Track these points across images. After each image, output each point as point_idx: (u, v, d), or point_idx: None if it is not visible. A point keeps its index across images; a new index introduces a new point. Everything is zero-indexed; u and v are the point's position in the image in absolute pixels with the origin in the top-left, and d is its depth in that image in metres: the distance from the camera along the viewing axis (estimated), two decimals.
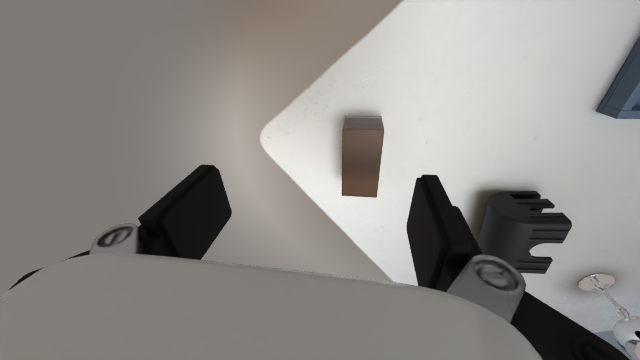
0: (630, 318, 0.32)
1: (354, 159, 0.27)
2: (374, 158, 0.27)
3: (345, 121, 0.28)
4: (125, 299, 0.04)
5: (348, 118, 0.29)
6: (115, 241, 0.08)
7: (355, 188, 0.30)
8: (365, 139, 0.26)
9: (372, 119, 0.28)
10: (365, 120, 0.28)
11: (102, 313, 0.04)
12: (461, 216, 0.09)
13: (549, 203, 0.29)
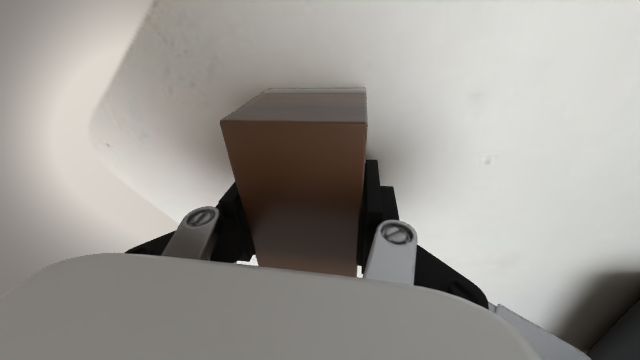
0: None
1: (280, 216, 0.09)
2: (338, 218, 0.08)
3: (254, 100, 0.09)
4: (125, 299, 0.04)
5: (271, 93, 0.10)
6: (201, 222, 0.08)
7: None
8: (303, 157, 0.07)
9: (337, 94, 0.09)
10: (315, 97, 0.09)
11: (102, 313, 0.04)
12: (394, 194, 0.10)
13: None
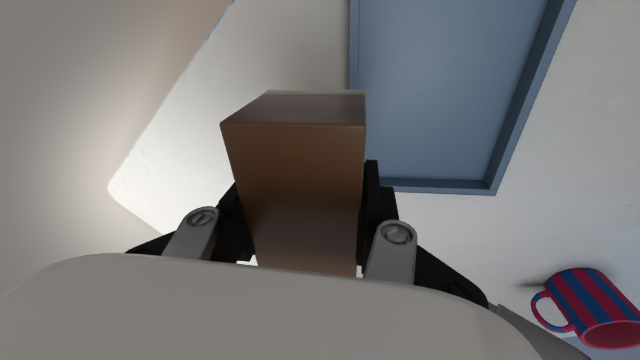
0: None
1: (279, 217, 0.09)
2: (338, 219, 0.08)
3: (253, 101, 0.09)
4: (125, 299, 0.04)
5: (271, 94, 0.10)
6: (201, 222, 0.08)
7: None
8: (302, 158, 0.07)
9: (336, 96, 0.09)
10: (314, 98, 0.09)
11: (102, 313, 0.04)
12: (393, 194, 0.10)
13: None
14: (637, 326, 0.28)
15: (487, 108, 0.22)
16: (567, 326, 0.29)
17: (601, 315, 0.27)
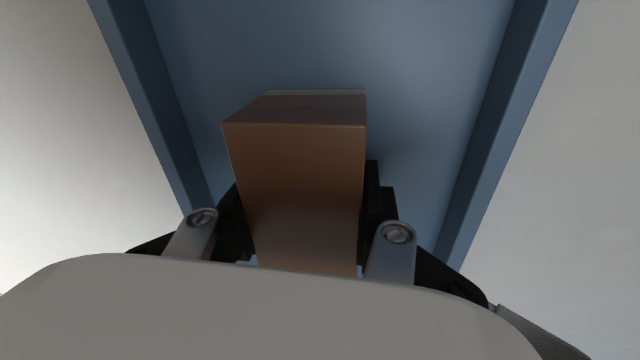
0: None
1: (280, 217, 0.09)
2: (338, 219, 0.08)
3: (254, 101, 0.09)
4: (125, 299, 0.04)
5: (271, 94, 0.10)
6: (201, 222, 0.08)
7: None
8: (303, 158, 0.07)
9: (337, 96, 0.09)
10: (315, 98, 0.09)
11: (102, 313, 0.04)
12: (394, 194, 0.10)
13: None
14: None
15: None
16: None
17: None
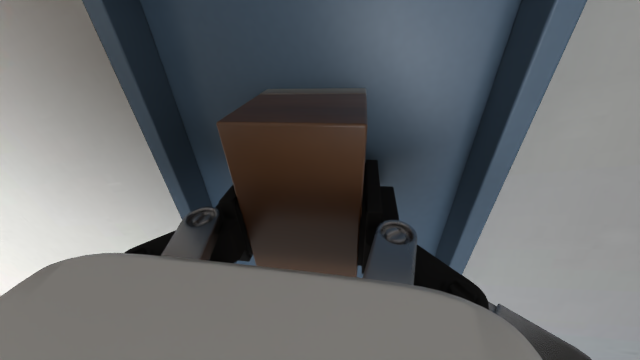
0: None
1: (278, 219, 0.09)
2: (338, 221, 0.08)
3: (252, 100, 0.09)
4: (125, 299, 0.04)
5: (270, 93, 0.10)
6: (201, 222, 0.08)
7: None
8: (301, 159, 0.07)
9: (336, 95, 0.09)
10: (314, 97, 0.09)
11: (102, 313, 0.04)
12: (394, 194, 0.10)
13: None
14: None
15: None
16: None
17: None
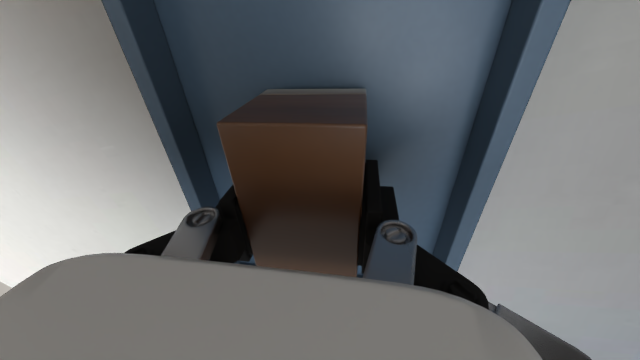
0: None
1: (278, 219, 0.09)
2: (338, 221, 0.08)
3: (252, 101, 0.09)
4: (125, 299, 0.04)
5: (270, 94, 0.10)
6: (201, 222, 0.08)
7: None
8: (301, 159, 0.07)
9: (336, 95, 0.09)
10: (314, 98, 0.09)
11: (102, 313, 0.04)
12: (394, 194, 0.10)
13: None
14: None
15: (416, 187, 0.13)
16: None
17: None
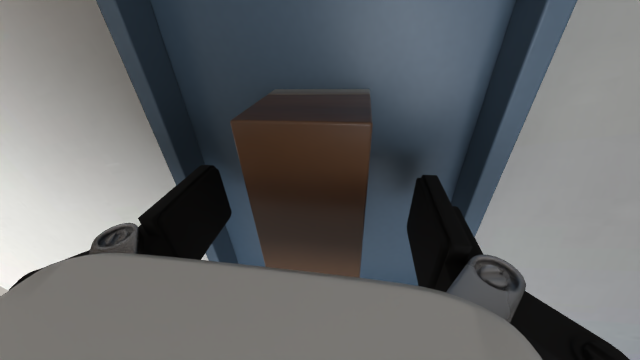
0: None
1: (286, 213, 0.09)
2: (343, 215, 0.09)
3: (261, 100, 0.09)
4: (125, 299, 0.04)
5: (277, 94, 0.10)
6: (115, 241, 0.08)
7: None
8: (309, 155, 0.08)
9: (342, 95, 0.10)
10: (320, 98, 0.09)
11: (102, 313, 0.04)
12: (461, 216, 0.09)
13: None
14: None
15: None
16: None
17: None
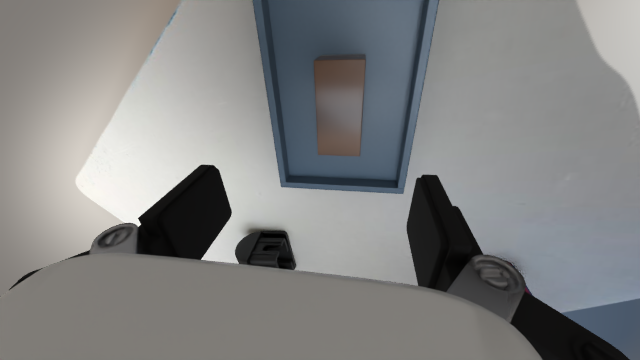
0: None
1: (330, 103, 0.22)
2: (354, 102, 0.22)
3: (319, 57, 0.22)
4: (125, 299, 0.04)
5: (324, 55, 0.23)
6: (115, 241, 0.08)
7: (333, 145, 0.24)
8: (342, 74, 0.20)
9: (353, 55, 0.22)
10: (344, 56, 0.22)
11: (102, 313, 0.04)
12: (461, 216, 0.09)
13: (279, 242, 0.37)
14: None
15: (388, 118, 0.26)
16: None
17: None
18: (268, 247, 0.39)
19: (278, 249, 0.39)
